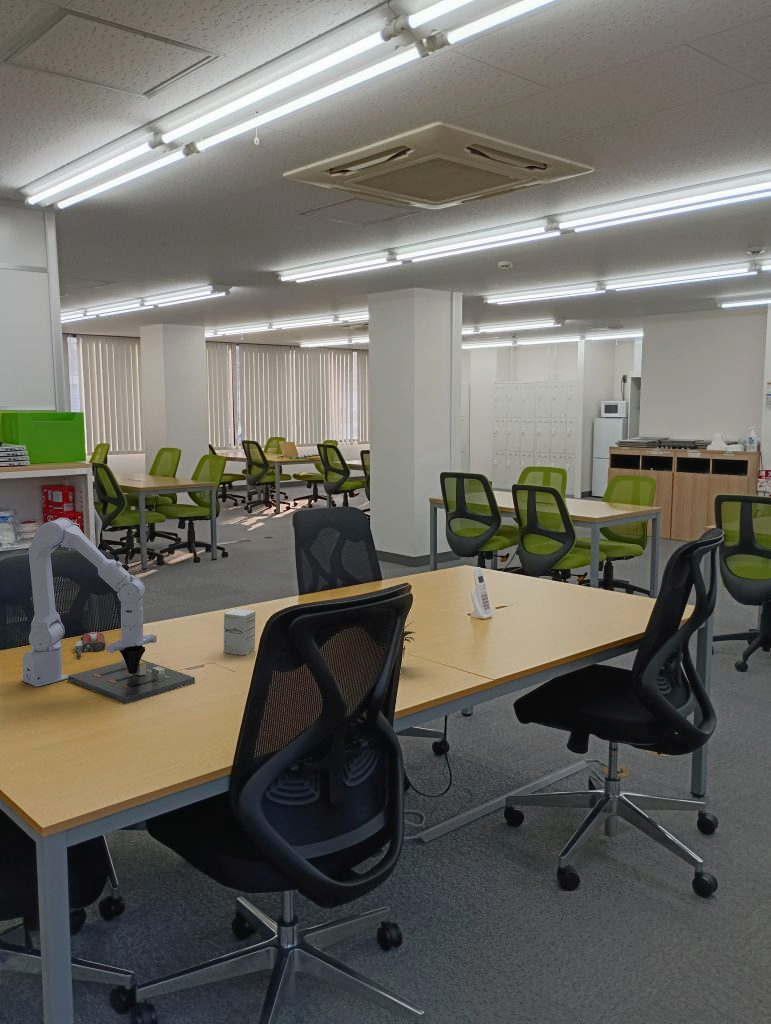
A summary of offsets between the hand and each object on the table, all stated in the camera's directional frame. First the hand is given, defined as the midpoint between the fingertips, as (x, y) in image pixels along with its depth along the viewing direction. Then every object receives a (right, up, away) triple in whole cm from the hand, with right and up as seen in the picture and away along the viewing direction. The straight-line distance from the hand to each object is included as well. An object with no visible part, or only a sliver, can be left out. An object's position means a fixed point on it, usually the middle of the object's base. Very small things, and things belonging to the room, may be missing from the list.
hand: (132, 673), depth 226 cm
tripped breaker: (+1, -1, +2) cm, 2 cm away
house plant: (+70, -2, +19) cm, 73 cm away
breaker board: (0, -2, 0) cm, 2 cm away
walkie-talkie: (-22, +1, +29) cm, 36 cm away
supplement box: (+24, 0, +31) cm, 39 cm away
